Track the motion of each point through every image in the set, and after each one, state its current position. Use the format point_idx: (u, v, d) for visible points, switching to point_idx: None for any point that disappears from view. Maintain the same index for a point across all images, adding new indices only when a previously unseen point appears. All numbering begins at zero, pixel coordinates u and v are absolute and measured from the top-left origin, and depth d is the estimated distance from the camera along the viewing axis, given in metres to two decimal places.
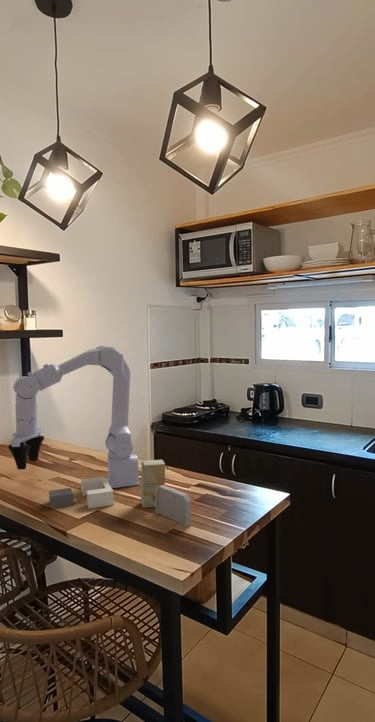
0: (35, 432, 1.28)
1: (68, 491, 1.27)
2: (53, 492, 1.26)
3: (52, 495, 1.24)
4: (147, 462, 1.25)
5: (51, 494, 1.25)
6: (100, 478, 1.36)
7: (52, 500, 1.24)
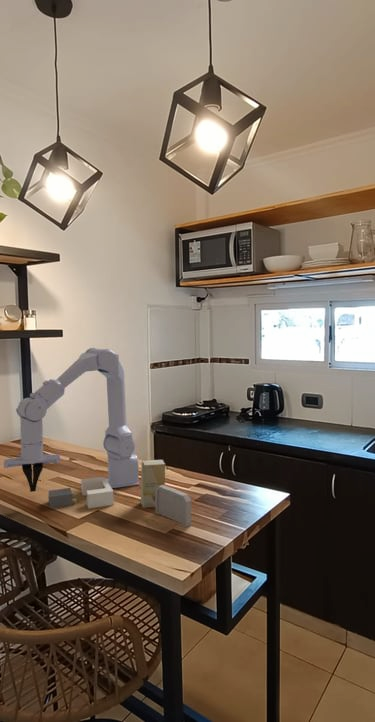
0: (30, 458, 1.20)
1: (67, 491, 1.27)
2: (52, 492, 1.26)
3: (51, 495, 1.24)
4: (147, 462, 1.25)
5: (50, 494, 1.25)
6: (100, 478, 1.36)
7: (51, 500, 1.24)
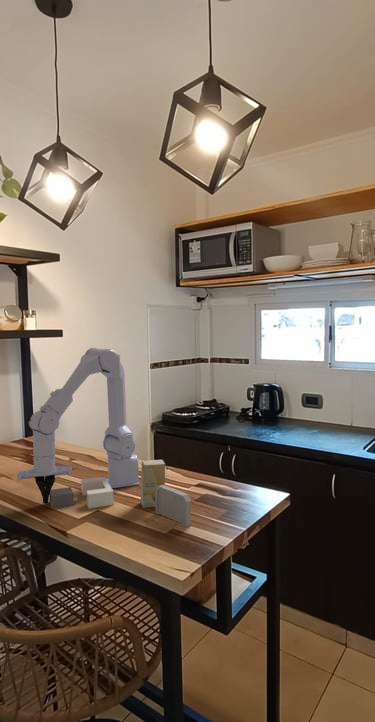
0: (43, 471, 1.22)
1: (68, 490, 1.27)
2: (53, 492, 1.26)
3: (52, 494, 1.24)
4: (147, 462, 1.25)
5: (51, 493, 1.25)
6: (100, 478, 1.36)
7: (52, 499, 1.24)
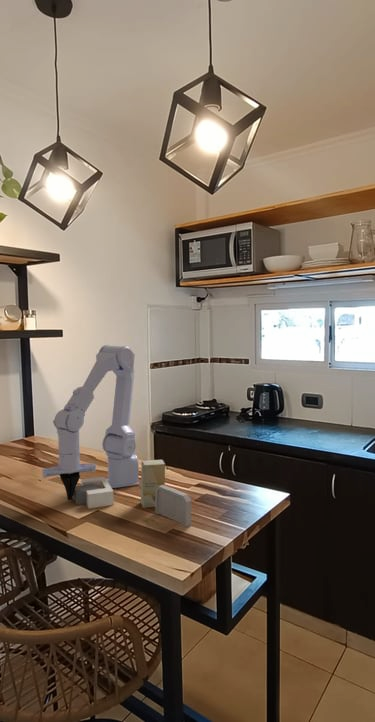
0: (69, 468, 1.24)
1: (92, 487, 1.30)
2: (77, 488, 1.29)
3: (77, 491, 1.27)
4: (147, 462, 1.25)
5: (76, 490, 1.27)
6: (100, 478, 1.36)
7: (78, 496, 1.26)
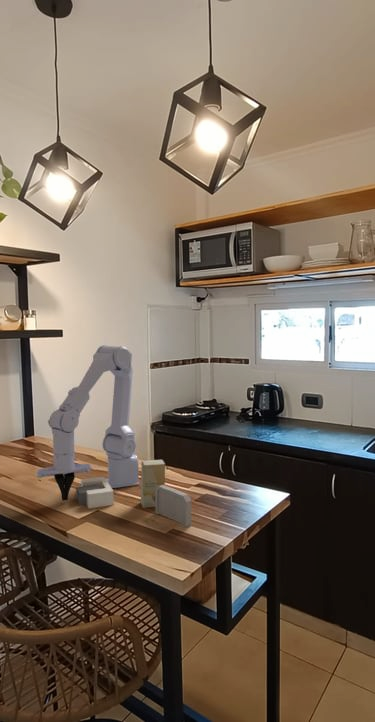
0: (63, 468, 1.24)
1: (95, 487, 1.30)
2: (80, 489, 1.29)
3: (80, 491, 1.27)
4: (147, 462, 1.25)
5: (79, 491, 1.28)
6: (100, 478, 1.36)
7: (81, 496, 1.26)
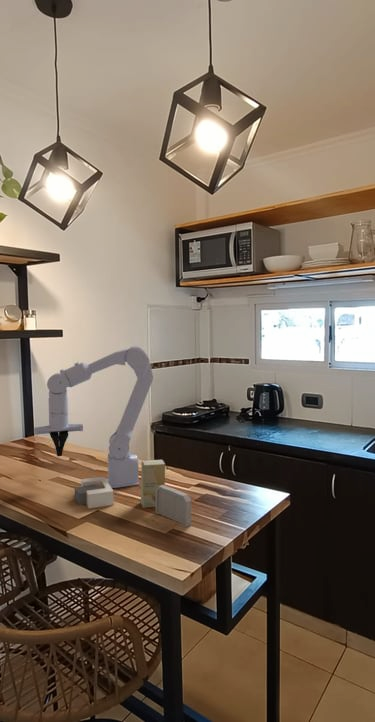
0: (58, 426, 1.36)
1: (94, 487, 1.30)
2: (79, 489, 1.29)
3: (80, 492, 1.27)
4: (147, 462, 1.25)
5: (78, 491, 1.27)
6: (100, 478, 1.36)
7: (80, 497, 1.26)
